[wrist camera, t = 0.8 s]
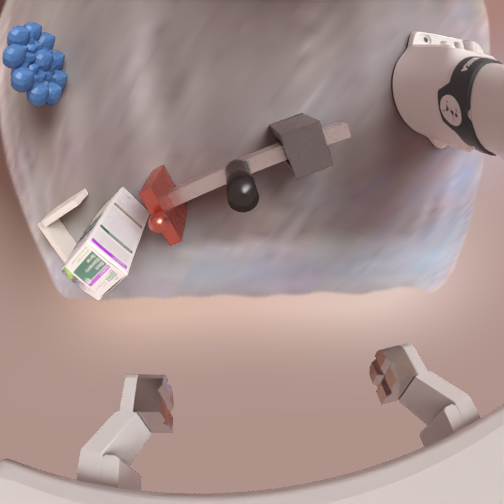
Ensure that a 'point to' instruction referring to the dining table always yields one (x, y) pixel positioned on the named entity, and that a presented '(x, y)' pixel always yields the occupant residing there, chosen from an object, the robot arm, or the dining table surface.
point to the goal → (61, 226)
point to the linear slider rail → (215, 185)
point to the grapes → (35, 64)
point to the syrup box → (107, 245)
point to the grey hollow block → (302, 144)
